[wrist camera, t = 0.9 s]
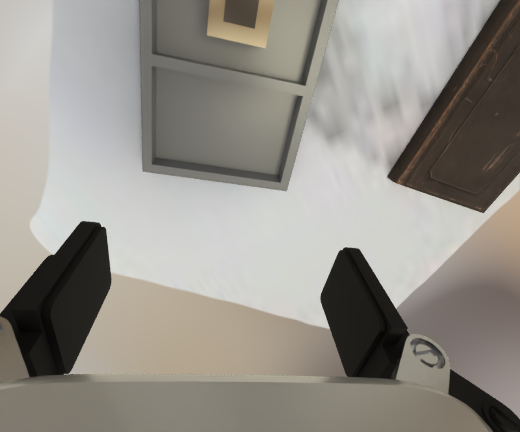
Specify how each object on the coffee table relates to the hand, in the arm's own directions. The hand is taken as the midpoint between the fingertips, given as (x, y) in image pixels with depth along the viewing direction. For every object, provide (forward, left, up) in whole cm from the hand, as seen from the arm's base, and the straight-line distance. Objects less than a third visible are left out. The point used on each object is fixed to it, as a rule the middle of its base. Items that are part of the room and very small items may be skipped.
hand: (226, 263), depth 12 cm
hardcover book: (-6, +32, -26) cm, 41 cm away
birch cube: (-10, 0, -24) cm, 26 cm away
